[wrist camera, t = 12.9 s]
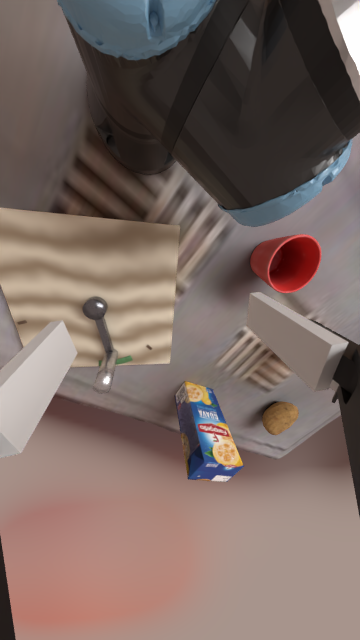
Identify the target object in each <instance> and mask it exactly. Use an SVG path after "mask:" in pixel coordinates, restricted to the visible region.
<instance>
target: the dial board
mask: <svg viewBox="0 0 360 640" xmlns="http://www.w3.org/2000/svg"><path fill="white" fill-rule="evenodd" d="M179 235H180V226H177V225H167V224H157V223H147V222H137V221H127V220H117V219H107V218H98V217H88V216H78V215H68V214H58V213H48V212H38V211H28V210H18V209H8V208H0V285H1V287H2V290H3V293H4V295H5V298H6V301H7V304H8V306H9V309H10V312H11V314H12V317H13V320H14V323H15V325H16V328H17V331H18V333H19V336H20V339H21V342H22V344H23V347H25V346H26V345H27V344H28V343H29V342H30V341H31V340H32V339H33V338H34V337H35V336H36V335H38V334H39V333H40V332H41V331H42V330H43V329H44V328H45V327H46V326H47V325H48V324H49V323H50V322H54V321H61V320H63V322H64V324H65V326H66V329H67V331H68V333H69V335H70V337H71V340H72V342H73V344H74V346H75V348H76V351H77V355H76V357H75V359H74V361H73V362H72V364H71V366H70V367H89V366H101V363H102V360H103V357H104V354H105V349H104V346H103V343H102V340H101V337H100V334H99V331H98V328H97V325H96V322H95V320H92V319H89V318H87V317H86V316H85V315H84V313H83V310H82V308H83V305H84V304H85V302H86V301H87V300H88V299H89V298H91V297H94V296H97V297H101V298H102V299H104V300H105V301H106V303H107V305H108V309H107V311H106V313H105V315H104V318H105V321H106V324H107V328H108V331H109V334H110V338H111V341H112V344H113V348H114V349H116V350H117V351H118V353H119V354H118V359H117V363H116V365H140V364H165V363H170V354H171V341H172V328H173V315H174V301H175V288H176V275H177V262H178V248H179Z"/></svg>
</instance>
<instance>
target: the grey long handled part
mask: <svg viewBox="0 0 360 640" xmlns="http://www.w3.org/2000/svg"><path fill="white" fill-rule="evenodd" d="M107 309H108V305H107V303H106V301H105V300H104V299H102V298H101V297H97V296H94V297H91V298H89V299H88V300H87V301H86V302H85V304H84V305H83V308H82V310H83V313H84V315H85V316H86V317H87V318H89V319H92V320H95V322H96V325H97V328H98V331H99V334H100V337H101V340H102V343H103V346H104V349H105V354H104V357H103V360H102V363H101V366H100V369H99V372H98V375H97V377H96V380H95V383H94V386H93V389H94V391H95V392H97V393H101V394H103V393H107V392H109V391H110V388H111V384H112V380H113V376H114V371H115V367H116V363H117V359H118V354H119V353H118V351H117V350H116V349H114V348H113V344H112V341H111V338H110V334H109V331H108V328H107V324H106V321H105V318H104V315H105V313H106V311H107Z"/></svg>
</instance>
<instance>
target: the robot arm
mask: <svg viewBox="0 0 360 640" xmlns="http://www.w3.org/2000/svg"><path fill="white" fill-rule="evenodd" d="M57 2H58V5H59V6H61V7H62V10H63V13H64V15H65V17H66V20H67V22H68V25H69V28H70V30H71V33H72V35H73V38H74V40H75V43H76V45H77V48H78V50H79V53H80V55H81V58H82V61H83V63H84V66H85V68H86V71H87V96H88V102H89V107H90V111H91V115H92V118H93V121H94V124H95V126H96V129H97V131H98V133H99V135H100V137H101V139H102V141H103V142H104V144H105V146H106V147H107V149H108V150H109V151H110V153H111V154H112V155H113V156H114V157H115V158H116V159H117V160H118V161H119V162H120V163H121V164H122V165H124V166H125V167H126V168H128V169H130V170H132V171H134V172H137V173H141V174H156V173H160V172H162V171H164V170H166V169H168V168H169V167H170V166H171V165H173V164H174V162H175V161H177V162H178V163H179V164H180V165H181V166H182V167H183V168H184V169H185V170H186V171H187V172H188V173H189V174H190V175H191V176H192V177H193V178H194V179H195V180H196V181H197V182H198V183H199V184H200V185H201V186H202V187H203V188H204V190H205V191H206V192H207V193H208V194H209V195H210V196H211V197H212V198H213V199H214V200H215V201H216V202H217V203H218V206H219V207H220V208H221V209H222V210H223V211H225V212H228V213H229V214H230V215H231V216H232V217H233V218H234V219H235V220H236V221H237V222H238V223H240V224H242V225H244V226H251V227H257V226H262V225H266V224H269V223H272V222H275V221H277V220H279V219H281V218H283V217H285V216H287V215H289V214H291V213H292V212H294V211H296V210H297V209H299V208H300V207H302V206H303V205H305V204H306V203H308V202H309V201H310V200H311V199H313V198H314V197H315V196H316V195H318V194H319V193H320V192H321V191H322V186H324V185H325V184H328V183H330V182H332V181H333V180H334V178H335V177H336V176H337V175H338V174H339V173H340V171H341V170H342V169H343V167H344V166H345V164H346V162H347V160H348V158H349V156H350V152H351V146H352V138H353V137H355V136H356V135H357V134H358V133H360V0H57ZM247 326H248V327H249V328H250V329H251V330H252V331H253V332H254V333H255V334H256V335H257V336H258V337H259V338H260V339H261V340H262V341H263V342H264V343H265V344H266V345H267V346H268V347H269V348H270V349H271V350H272V351H273V352H274V353H275V354H276V355H277V356H278V357H279V358H280V359H281V360H282V361H283V362H284V363H285V364H286V365H287V366H288V367H289V368H290V369H291V370H292V371H293V372H294V373H295V374H296V375H297V376H298V377H299V378H300V379H301V380H302V381H303V382H304V383H305V384H306V385H308V386H309V387H310V388H311V389H312V390H313V391H314V392H316V391H321V390H326V389H329V386H330V384H331V382H332V380H334V381H335V382H336V383H338V384H339V386H338V388H337V390H336V392H335V395H334V397H333V399H332V402H333V403H335V402H336V400H337V399H339V405H340V410H341V416H342V422H343V427H344V433H345V438H346V444H347V449H348V455H349V460H350V466H351V472H352V477H353V483H354V488H355V494H356V499H357V505H358V510H359V515H360V345H358V344H356V343H354V342H352V341H351V340H349V339H347V338H345V337H343V336H342V335H340V334H338V333H336V332H334V331H332V330H331V329H329V328H327V327H325V326H323V325H322V324H320V323H318V322H316V321H313V320H310V319H307V318H305V317H303V316H302V315H300V314H298V313H296V312H294V311H293V310H291V309H289V308H287V307H286V306H284V305H282V304H280V303H279V302H277V301H275V300H273V299H272V298H270V297H268V296H266V295H264V294H263V293H261V292H255V293H250V298H249V308H248V318H247ZM76 355H77V351H76V348H75V346H74V344H73V342H72V340H71V337H70V335H69V333H68V331H67V329H66V326H65V324H64V322H63V320H61V321H54V322H50V323H49V324H48V325H47V326H46V327H45V328H44V329H43V330H42V331H41V332H40V333H39V334H38V335H36V336H35V337H34V338H33V339H32V340H31V341H30V342H29V343H28V344H27V345H26V346H25V347H24V348H23V349H22V350H21V351H20V352H19V353H18V354H17V355H16V356H15V357H14V358H12V359H11V360H10V361H9V362H8V363H7V364H6V365H5V366H4V367H3V368H2V369H1V370H0V458H2V457H7V456H12V455H16V454H20V453H21V452H22V451H23V449H24V447H25V445H26V444H27V442H28V440H29V438H30V437H31V435H32V433H33V431H34V430H35V428H36V426H37V424H38V422H39V421H40V419H41V417H42V415H43V414H44V412H45V410H46V408H47V406H48V405H49V403H50V401H51V399H52V398H53V396H54V394H55V392H56V391H57V389H58V387H59V385H60V384H61V382H62V380H63V378H64V376H65V375H66V373H67V371H68V369H69V368H70V366H71V364H72V362H73V361H74V359H75V357H76ZM0 640H16V639H15V633H14V625H13V619H12V613H11V605H10V598H9V592H8V584H7V578H6V572H5V564H4V557H3V551H2V544H1V537H0Z"/></svg>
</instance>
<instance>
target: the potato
mask: <svg viewBox="0 0 360 640" xmlns="http://www.w3.org/2000/svg"><path fill="white" fill-rule="evenodd" d="M297 418H298V409H297V407H296V406H294V405H293V404H291V403H287V402H277V403H275V404H273V405H271V406H270V407H269V408H268V409H267V410H266V411H265V412H264V414H263V417H262V422H263V426H264V427H265V429H266V430H267V431H268V432H269V433H270V434H272V435H278V434H280V433H281V432H283V431H284V430H286V429H288V428H289V427H290V426H291V425H292V424H293V423H294V422H295V421H296V420H297Z"/></svg>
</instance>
